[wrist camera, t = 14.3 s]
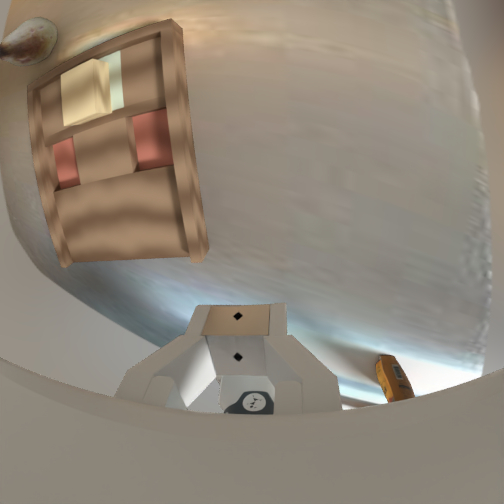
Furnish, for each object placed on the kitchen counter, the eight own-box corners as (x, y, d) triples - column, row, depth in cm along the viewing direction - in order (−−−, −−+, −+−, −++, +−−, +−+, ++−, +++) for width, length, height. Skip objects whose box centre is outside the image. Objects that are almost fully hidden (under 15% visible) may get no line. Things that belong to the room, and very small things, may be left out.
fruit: (24, 64, 28) (-20, 63, 17) (44, 20, 24) (1, 12, 13) (51, 70, 29) (2, 68, 18) (74, 23, 25) (28, 10, 14)
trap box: (209, 248, 41) (202, 262, 37) (75, 256, 44) (61, 267, 40) (182, 28, 27) (171, 18, 23) (44, 86, 30) (27, 85, 26)
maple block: (112, 113, 30) (95, 113, 27) (80, 124, 31) (63, 126, 28) (108, 62, 27) (92, 58, 24) (77, 76, 28) (60, 74, 24)
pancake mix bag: (396, 340, 46) (441, 466, 21) (414, 383, 52) (445, 480, 27) (366, 356, 48) (396, 485, 23) (390, 395, 54) (413, 493, 29)
